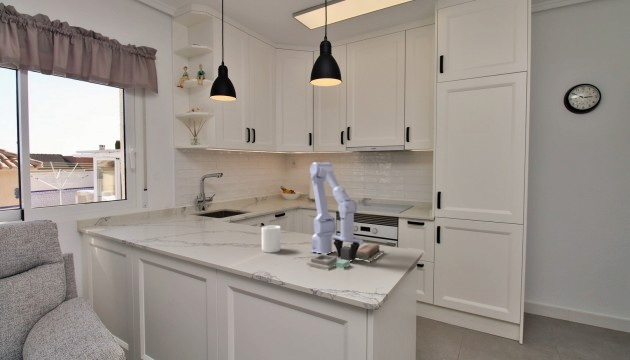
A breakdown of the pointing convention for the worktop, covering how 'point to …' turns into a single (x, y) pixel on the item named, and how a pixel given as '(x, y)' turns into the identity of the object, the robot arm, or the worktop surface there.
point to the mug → (271, 238)
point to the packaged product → (368, 252)
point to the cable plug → (342, 263)
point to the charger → (346, 253)
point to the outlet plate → (323, 261)
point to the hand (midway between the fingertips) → (346, 257)
